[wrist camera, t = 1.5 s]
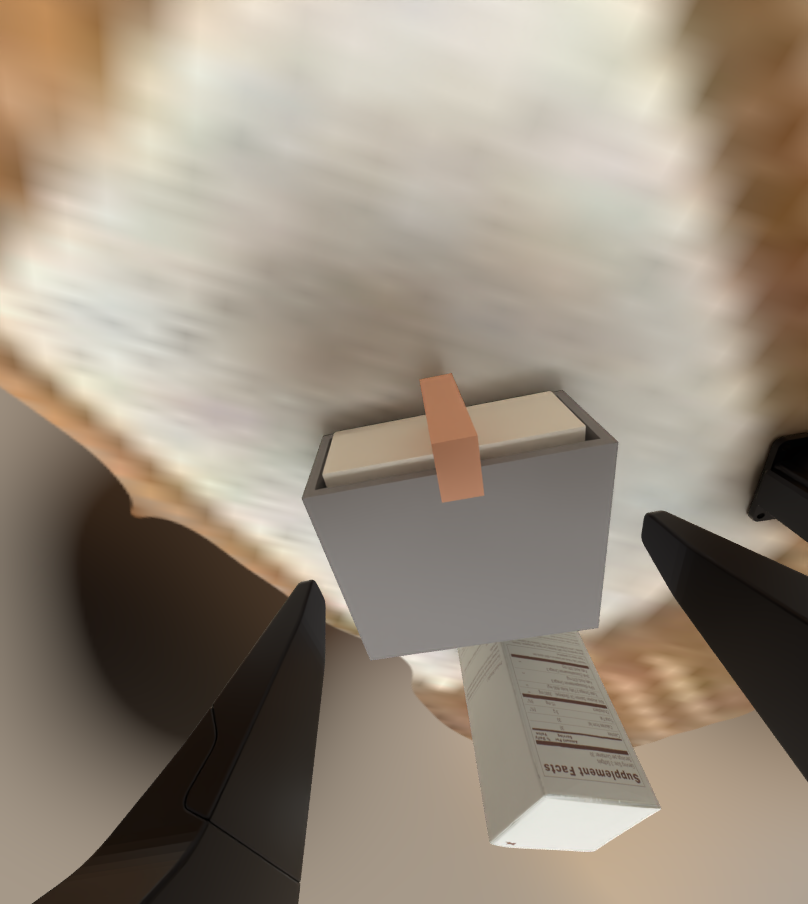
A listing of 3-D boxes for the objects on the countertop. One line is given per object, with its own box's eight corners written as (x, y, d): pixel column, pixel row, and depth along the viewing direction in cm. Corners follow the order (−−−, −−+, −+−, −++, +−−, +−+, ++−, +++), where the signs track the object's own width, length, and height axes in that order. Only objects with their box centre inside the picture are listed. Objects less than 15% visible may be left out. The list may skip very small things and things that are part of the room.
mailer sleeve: (562, 390, 21) (618, 441, 16) (559, 553, 28) (598, 627, 22) (322, 436, 22) (301, 498, 17) (374, 582, 29) (370, 660, 23)
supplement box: (530, 657, 34) (594, 855, 23) (454, 645, 33) (485, 848, 22) (570, 607, 31) (668, 812, 20) (488, 591, 30) (544, 801, 19)
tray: (550, 343, 19) (638, 405, 12) (550, 552, 27) (604, 662, 20) (320, 390, 20) (283, 471, 13) (382, 578, 28) (379, 692, 21)
